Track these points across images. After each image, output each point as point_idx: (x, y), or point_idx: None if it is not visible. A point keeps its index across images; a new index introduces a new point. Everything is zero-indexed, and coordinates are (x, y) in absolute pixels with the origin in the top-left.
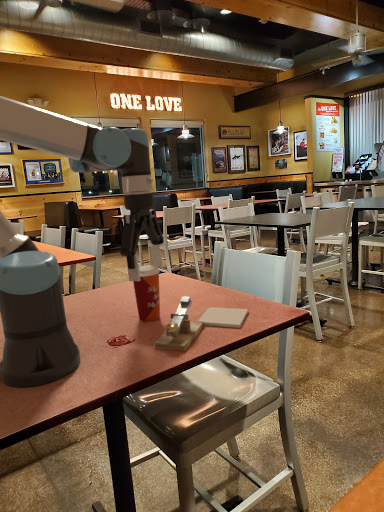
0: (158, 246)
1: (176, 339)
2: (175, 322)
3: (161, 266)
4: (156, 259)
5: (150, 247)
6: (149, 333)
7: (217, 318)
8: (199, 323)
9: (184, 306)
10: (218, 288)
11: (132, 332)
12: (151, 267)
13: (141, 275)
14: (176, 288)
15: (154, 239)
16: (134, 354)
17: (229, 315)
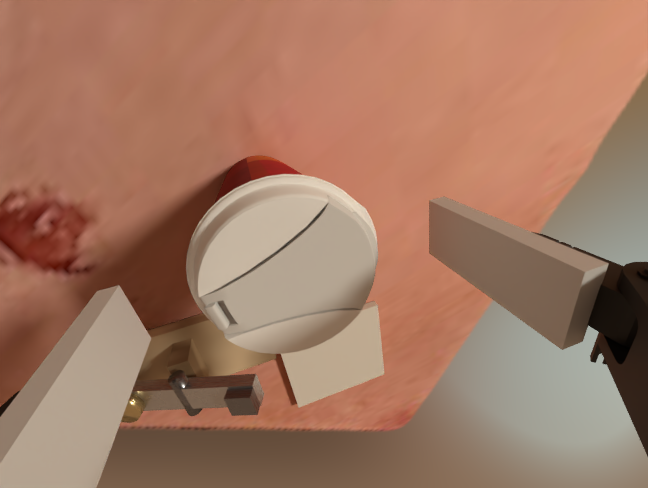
0: (550, 335)
1: (144, 379)
2: (153, 400)
3: (437, 254)
4: (465, 252)
5: (560, 260)
6: (158, 274)
7: (314, 360)
8: (261, 358)
9: (222, 400)
10: (535, 225)
11: (128, 223)
12: (321, 309)
13: (204, 312)
14: (548, 87)
15: (636, 374)
16: (18, 333)
17: (339, 367)
